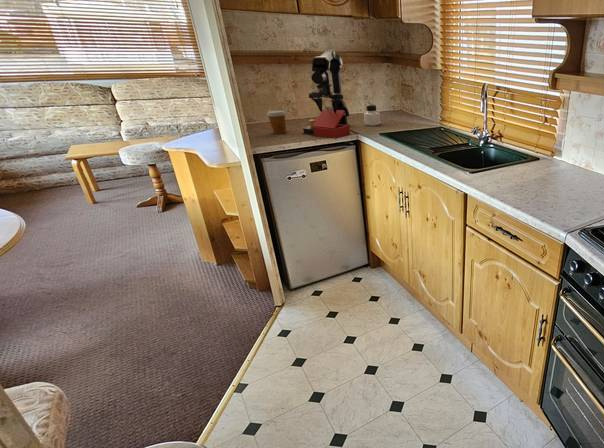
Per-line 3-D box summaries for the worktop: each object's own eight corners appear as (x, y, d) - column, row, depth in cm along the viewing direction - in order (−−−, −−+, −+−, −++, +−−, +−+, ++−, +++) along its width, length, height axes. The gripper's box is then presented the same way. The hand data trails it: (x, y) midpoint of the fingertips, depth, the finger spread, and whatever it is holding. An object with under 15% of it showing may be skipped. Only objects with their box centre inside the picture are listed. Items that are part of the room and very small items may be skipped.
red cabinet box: (329, 131, 236) (327, 123, 234) (350, 133, 231) (348, 125, 229) (314, 135, 225) (312, 127, 223) (335, 138, 221) (334, 129, 219)
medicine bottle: (381, 124, 257) (379, 104, 252) (372, 126, 251) (370, 106, 246) (372, 122, 260) (371, 103, 255) (364, 124, 255) (362, 105, 250)
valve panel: (314, 130, 239) (314, 124, 237) (326, 131, 236) (326, 125, 235) (302, 133, 230) (301, 127, 229) (314, 134, 228) (314, 129, 226)
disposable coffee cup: (292, 131, 235) (288, 110, 230) (283, 134, 226) (279, 113, 221) (276, 130, 235) (272, 109, 230) (267, 134, 227) (262, 112, 222)
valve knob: (309, 127, 230) (308, 120, 228) (310, 126, 233) (309, 118, 232) (317, 127, 230) (316, 120, 228) (318, 126, 234) (317, 118, 232)
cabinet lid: (324, 109, 229) (319, 103, 225) (345, 111, 225) (341, 105, 221) (312, 126, 223) (308, 120, 219) (334, 129, 219) (330, 122, 215)
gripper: (299, 82, 212) (304, 113, 218) (328, 84, 206) (332, 115, 212) (313, 81, 221) (318, 110, 228) (342, 82, 215) (345, 112, 222)
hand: (328, 112), depth 222 cm, fingers open, 9 cm apart
